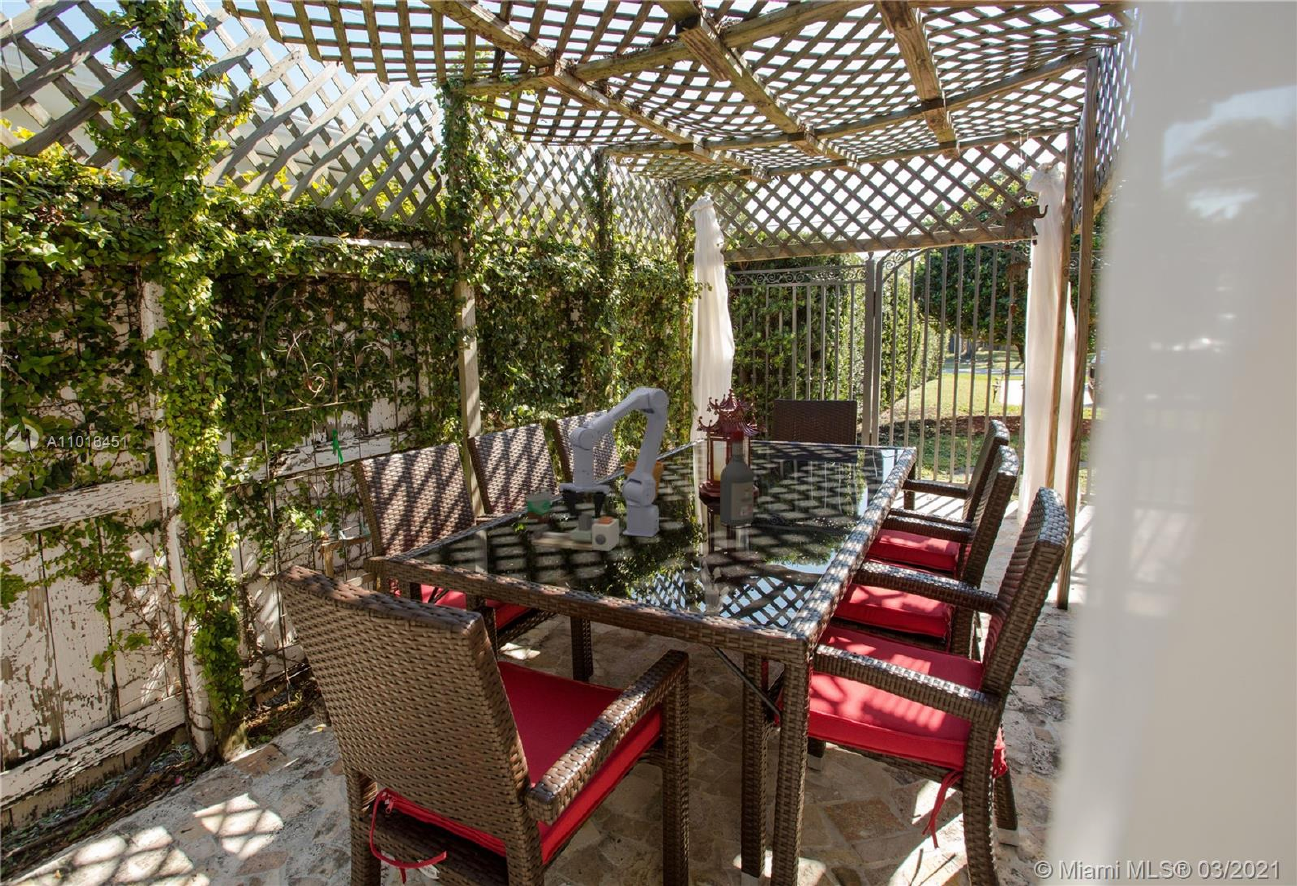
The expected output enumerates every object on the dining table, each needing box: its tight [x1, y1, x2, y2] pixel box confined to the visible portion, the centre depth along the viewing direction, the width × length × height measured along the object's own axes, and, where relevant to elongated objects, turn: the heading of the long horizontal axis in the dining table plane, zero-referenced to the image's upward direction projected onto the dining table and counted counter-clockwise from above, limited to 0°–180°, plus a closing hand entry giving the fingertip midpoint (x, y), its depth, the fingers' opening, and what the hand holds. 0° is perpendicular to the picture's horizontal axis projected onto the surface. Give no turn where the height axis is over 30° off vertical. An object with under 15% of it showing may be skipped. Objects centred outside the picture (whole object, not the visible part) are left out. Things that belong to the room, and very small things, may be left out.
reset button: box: [598, 515, 613, 524], centre depth 189 cm, size 3×3×2 cm
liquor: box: [719, 429, 755, 526], centre depth 209 cm, size 9×9×30 cm
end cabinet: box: [591, 518, 620, 552], centre depth 189 cm, size 5×8×7 cm, turn 163°
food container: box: [525, 486, 553, 524], centre depth 216 cm, size 12×6×10 cm, turn 168°
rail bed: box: [530, 523, 593, 551], centre depth 193 cm, size 19×10×4 cm, turn 73°
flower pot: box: [624, 460, 664, 501], centre depth 244 cm, size 14×14×13 cm
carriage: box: [570, 513, 593, 542], centre depth 191 cm, size 6×7×7 cm
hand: (585, 516), depth 191 cm, fingers open, 7 cm apart
